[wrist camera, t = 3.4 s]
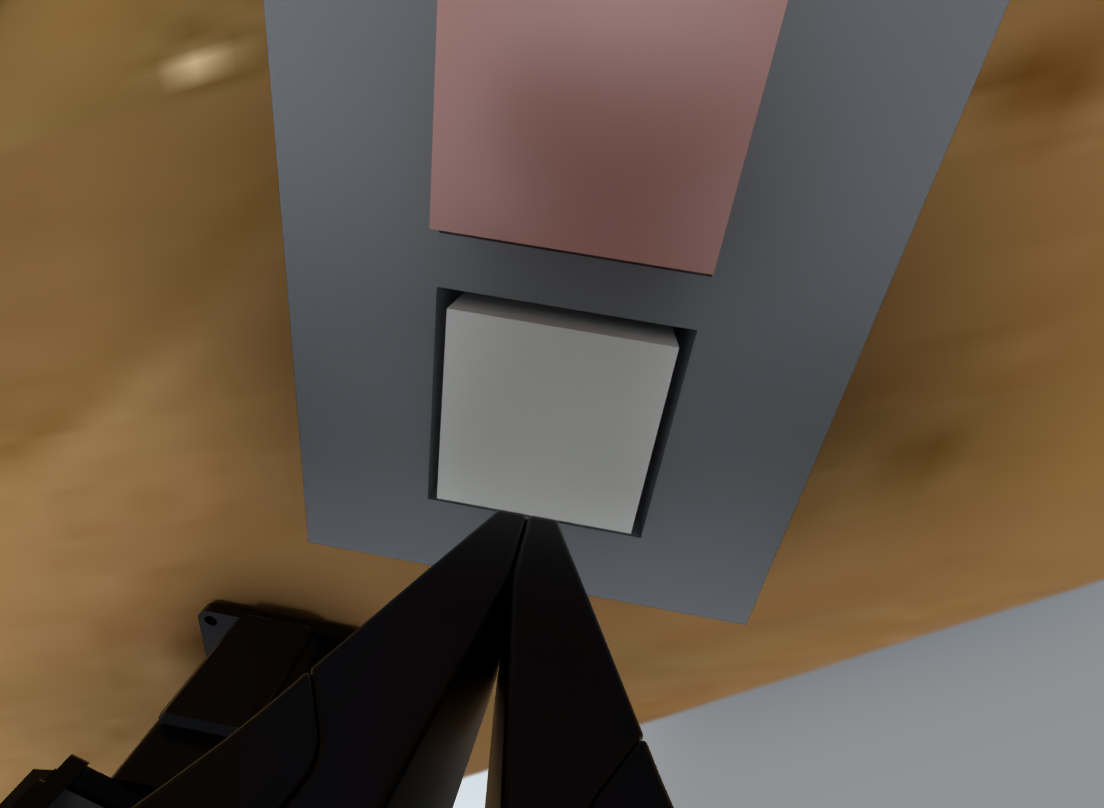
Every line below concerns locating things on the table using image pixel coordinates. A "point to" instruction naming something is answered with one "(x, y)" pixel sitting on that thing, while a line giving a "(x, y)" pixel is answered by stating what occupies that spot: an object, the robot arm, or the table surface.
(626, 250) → the red key
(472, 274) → the key panel
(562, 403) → the white key
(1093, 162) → the table surface
